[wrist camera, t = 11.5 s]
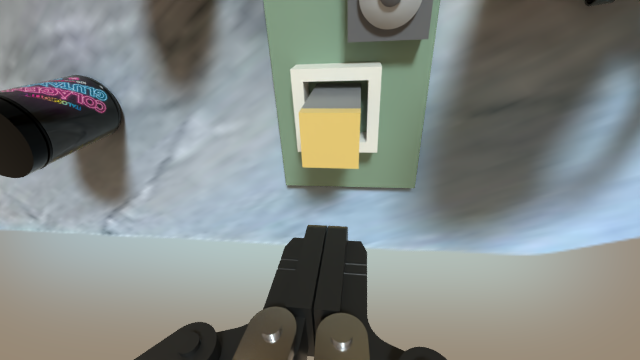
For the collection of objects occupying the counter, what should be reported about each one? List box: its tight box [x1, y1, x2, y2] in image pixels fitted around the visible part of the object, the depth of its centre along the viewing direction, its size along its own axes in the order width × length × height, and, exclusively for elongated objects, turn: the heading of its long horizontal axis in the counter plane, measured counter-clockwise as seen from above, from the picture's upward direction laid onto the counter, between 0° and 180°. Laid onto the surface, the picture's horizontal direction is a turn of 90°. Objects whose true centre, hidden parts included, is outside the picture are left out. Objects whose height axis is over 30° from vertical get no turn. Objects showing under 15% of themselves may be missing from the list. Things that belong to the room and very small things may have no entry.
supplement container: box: [0, 75, 121, 178], centre depth 27 cm, size 7×7×10 cm
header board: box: [263, 0, 440, 188], centre depth 25 cm, size 14×22×5 cm, turn 3°
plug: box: [299, 83, 361, 169], centre depth 23 cm, size 4×4×9 cm
